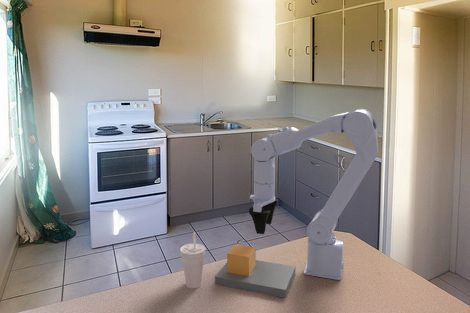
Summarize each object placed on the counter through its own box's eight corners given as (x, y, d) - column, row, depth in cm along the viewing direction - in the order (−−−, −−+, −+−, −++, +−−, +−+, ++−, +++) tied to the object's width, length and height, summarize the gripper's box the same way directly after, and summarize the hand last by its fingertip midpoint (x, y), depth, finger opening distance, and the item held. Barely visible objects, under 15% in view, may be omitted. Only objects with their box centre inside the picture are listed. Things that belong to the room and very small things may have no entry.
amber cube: (255, 265, 98) (255, 247, 97) (248, 276, 93) (248, 256, 92) (235, 262, 100) (234, 244, 99) (227, 272, 95) (227, 253, 94)
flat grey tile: (295, 273, 98) (295, 255, 97) (285, 297, 87) (285, 277, 86) (231, 262, 104) (231, 245, 103) (215, 284, 93) (214, 264, 92)
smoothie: (202, 292, 89) (201, 238, 87) (177, 289, 90) (175, 236, 88) (209, 279, 95) (208, 228, 93) (185, 276, 97) (184, 226, 94)
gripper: (257, 174, 110) (257, 218, 112) (242, 187, 96) (242, 236, 99) (281, 176, 107) (280, 220, 110) (268, 189, 94) (268, 239, 97)
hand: (264, 228), depth 104 cm, fingers open, 7 cm apart
